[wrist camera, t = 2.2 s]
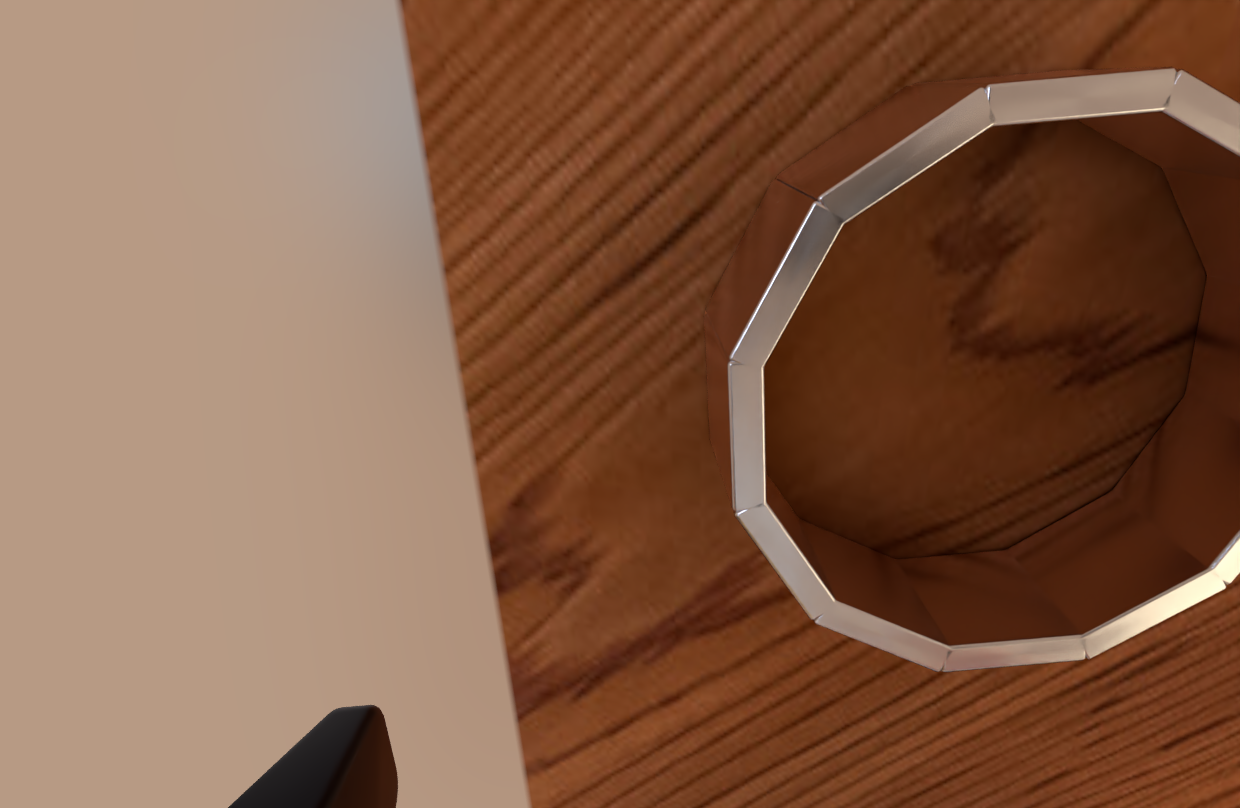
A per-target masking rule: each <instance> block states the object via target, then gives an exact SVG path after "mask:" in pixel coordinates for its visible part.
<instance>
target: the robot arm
mask: <svg viewBox="0 0 1240 808" xmlns="http://www.w3.org/2000/svg"><path fill="white" fill-rule="evenodd" d="M397 792H398V778H397V770H396V766H395V761H394V757H393V753H392V748H391V744H390V740H389V736H388V731H387V727H386V723H385V719H384V715H383V714H382V712H381V710H380V709H379V708H378V707H376V706H374V705H366V706H353V707H342V708H338V709H335V710H333V711H332V712H331V713H329V714H328V715H327V716H326V717H325V718H324V719H323V720H322V721H320V722H319V723H318V724H317V725H316V726H315V727H314V728H313V729H312V730H311V731H310V732H309V733H308V734H307V735H306V736H305V737H303V738H302V739H301V740H300V741H299V742H298V743H297V744H296V745H295V746H294V747H293V748H292V749H290V750H289V751H288V752H287V753H286V754H285V755H284V756H283V757H282V758H281V759H280V760H279V761H278V762H277V763H275V764H274V765H273V766H272V767H271V768H270V769H269V770H268V771H267V772H266V773H265V774H264V775H263V776H262V777H261V778H260V779H258V780H257V781H256V782H255V783H254V784H253V785H252V786H251V787H250V788H249V789H248V790H246V791H245V792H244V794H242V795H241V796H240V797H239V798H238V799H237V800H236V801H235V802H234V803H233V804H232V805H230V806H229V807H228V808H396V802H397Z"/></svg>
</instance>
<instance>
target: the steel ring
mask: <svg viewBox="0 0 1240 808" xmlns="http://www.w3.org/2000/svg"><path fill="white" fill-rule="evenodd" d="M1070 120H1078V121H1080V122H1082V123H1083V124H1085V125H1087V126H1089V127H1090V128H1092V129H1094V130H1096V131H1098V132H1099V133H1101V134H1103V135H1105V136H1106V137H1108V138H1110V139H1112V140H1114V141H1115V142H1117V143H1119V144H1121V145H1122V146H1124V147H1126V148H1128V149H1130V150H1131V151H1133V152H1135V153H1137V154H1138V155H1140V156H1142V157H1144V158H1146V159H1147V160H1149V161H1151V162H1153V163H1154V164H1156V165H1158V166H1160V167H1162V169H1163V171H1164V174H1165V176H1166V178H1167V181H1168V183H1169V185H1170V188H1171V190H1172V193H1173V195H1174V197H1175V200H1176V202H1177V204H1178V207H1179V209H1180V211H1181V214H1182V216H1183V219H1184V221H1185V223H1186V226H1187V228H1188V230H1189V233H1190V235H1191V238H1192V240H1193V242H1194V245H1195V247H1196V249H1197V252H1198V254H1199V256H1200V259H1201V261H1202V264H1203V266H1204V268H1205V271H1206V273H1207V279H1206V284H1205V290H1204V295H1203V301H1202V306H1201V311H1200V317H1199V322H1198V328H1197V333H1196V339H1195V344H1194V349H1193V355H1192V360H1191V366H1190V371H1189V377H1188V382H1187V387H1186V393H1185V396H1184V397H1183V398H1182V400H1181V401H1180V402H1179V404H1178V405H1177V406H1176V408H1175V409H1174V410H1173V411H1172V413H1171V414H1170V415H1169V417H1168V418H1167V419H1166V421H1165V422H1164V423H1163V425H1162V426H1161V427H1160V429H1159V430H1158V431H1157V432H1156V434H1155V435H1154V436H1153V438H1152V439H1151V440H1150V442H1149V443H1148V444H1147V446H1146V447H1145V448H1144V449H1143V451H1142V452H1141V453H1140V455H1139V456H1138V457H1137V459H1136V460H1135V461H1134V463H1133V464H1132V465H1131V467H1130V468H1129V469H1128V470H1127V472H1126V473H1125V474H1124V476H1123V477H1122V478H1121V480H1120V481H1119V482H1118V484H1117V485H1116V486H1115V488H1114V489H1113V490H1112V491H1111V492H1109V493H1107V494H1105V495H1104V496H1102V497H1100V498H1098V499H1096V500H1095V501H1093V502H1091V503H1089V504H1087V505H1086V506H1084V507H1082V508H1080V509H1078V510H1077V511H1075V512H1073V513H1071V514H1069V515H1068V516H1066V517H1064V518H1062V519H1060V520H1059V521H1057V522H1055V523H1053V524H1051V525H1050V526H1048V527H1046V528H1044V529H1042V530H1041V531H1039V532H1037V533H1035V534H1033V535H1032V536H1030V537H1028V538H1026V539H1024V540H1023V541H1021V542H1019V543H1017V544H1015V545H1014V546H1012V547H1010V548H1008V549H1006V550H1000V551H988V552H976V553H965V554H953V555H942V556H930V557H918V558H907V559H893V558H891V557H888V556H886V555H884V554H881V553H879V552H877V551H874V550H872V549H869V548H867V547H865V546H862V545H860V544H858V543H855V542H853V541H850V540H848V539H846V538H843V537H841V536H839V535H836V534H834V533H831V532H829V531H827V530H824V529H822V528H820V527H817V526H815V525H812V524H810V523H808V522H805V521H803V520H801V519H799V518H798V517H797V515H796V514H795V513H794V511H793V510H792V508H791V507H790V505H789V504H788V503H787V501H786V500H785V498H784V497H783V495H782V494H781V493H780V491H779V490H778V488H777V487H776V485H775V484H774V482H773V481H772V480H771V478H770V477H769V475H768V474H767V467H766V411H765V365H766V363H767V361H768V359H769V358H770V356H771V354H772V352H773V350H774V349H775V347H776V345H777V343H778V342H779V340H780V338H781V336H782V334H783V333H784V331H785V329H786V327H787V326H788V324H789V322H790V320H791V318H792V317H793V315H794V313H795V311H796V310H797V308H798V306H799V304H800V302H801V301H802V299H803V297H804V295H805V294H806V292H807V290H808V288H809V286H810V285H811V283H812V281H813V279H814V278H815V276H816V274H817V272H818V270H819V269H820V267H821V265H822V263H823V261H824V260H825V258H826V256H827V254H828V253H829V251H830V249H831V247H832V245H833V244H834V242H835V240H836V238H837V237H838V235H839V233H840V231H841V229H842V228H843V226H844V225H845V224H846V223H848V222H849V221H851V220H852V219H854V218H856V217H857V216H859V215H860V214H862V213H863V212H865V211H866V210H868V209H869V208H871V207H872V206H874V205H875V204H877V203H878V202H880V201H881V200H883V199H884V198H886V197H887V196H889V195H890V194H892V193H893V192H895V191H896V190H898V189H899V188H901V187H902V186H904V185H905V184H907V183H908V182H910V181H911V180H913V179H914V178H916V177H917V176H919V175H920V174H922V173H923V172H925V171H926V170H928V169H929V168H931V167H932V166H934V165H935V164H937V163H938V162H940V161H941V160H943V159H944V158H946V157H947V156H949V155H950V154H952V153H953V152H955V151H956V150H958V149H960V148H961V147H963V146H964V145H966V144H967V143H969V142H970V141H972V140H973V139H975V138H976V137H978V136H979V135H981V134H982V133H984V132H985V131H987V130H988V129H990V128H991V127H1001V126H1013V125H1024V124H1036V123H1047V122H1058V121H1070ZM776 178H777V179H774V180H773V181H772V182H771V184H770V186H769V188H768V190H767V191H766V193H765V195H764V197H763V199H762V201H761V203H760V205H759V207H758V209H757V211H756V213H755V214H754V216H753V218H752V220H751V222H750V224H749V226H748V228H747V230H746V232H745V234H744V236H743V237H742V239H741V241H740V243H739V245H738V247H737V249H736V251H735V253H734V255H733V257H732V259H731V260H730V262H729V264H728V266H727V268H726V270H725V272H724V274H723V276H722V278H721V280H720V282H719V283H718V285H717V287H716V289H715V291H714V293H713V295H712V297H711V299H710V301H709V303H708V305H707V306H706V309H705V311H706V314H705V315H704V327H705V349H706V371H707V393H708V415H709V437H710V442H711V445H712V448H713V451H714V454H715V457H716V460H717V464H718V467H719V470H720V473H721V476H722V479H723V482H724V485H725V488H726V491H727V494H728V498H729V501H730V504H731V507H732V509H733V512H734V515H735V517H736V519H737V520H738V521H739V523H740V524H741V525H742V527H743V528H744V529H745V531H746V532H747V534H748V535H749V536H750V538H751V539H752V540H753V542H754V543H755V545H756V546H757V547H758V549H759V550H760V551H761V553H762V554H763V555H764V557H765V558H766V560H767V561H768V562H769V564H770V565H771V566H772V568H773V569H774V570H775V572H776V573H777V575H778V576H779V577H780V579H781V580H782V581H783V583H784V584H785V585H786V587H787V588H788V590H789V591H790V592H791V594H792V595H793V596H794V598H795V599H796V601H797V602H798V603H799V605H800V606H801V607H802V609H803V610H804V611H805V613H806V614H807V616H808V617H809V618H810V619H812V620H814V622H815V623H816V624H817V625H820V626H822V627H825V628H828V629H830V630H833V631H835V632H838V633H840V634H843V635H845V636H848V637H850V638H853V639H855V640H858V641H860V642H863V643H865V644H868V645H871V646H873V647H876V648H878V649H881V650H883V651H886V652H888V653H891V654H893V655H896V656H898V657H901V658H903V659H906V660H908V661H911V662H914V663H916V664H919V665H921V666H924V667H926V668H929V669H931V670H934V671H936V672H939V671H940V670H941V671H942V672H953V671H964V670H976V669H988V668H1000V667H1011V666H1023V665H1035V664H1046V663H1058V662H1070V661H1081V660H1084V659H1085V658H1088V659H1091V658H1093V657H1095V656H1097V655H1099V654H1101V653H1103V652H1105V651H1107V650H1109V649H1110V648H1112V647H1114V646H1116V645H1118V644H1120V643H1122V642H1124V641H1126V640H1128V639H1130V638H1132V637H1134V636H1136V635H1138V634H1139V633H1141V632H1143V631H1145V630H1147V629H1149V628H1151V627H1153V626H1155V625H1157V624H1159V623H1161V622H1163V621H1165V620H1167V619H1168V618H1170V617H1172V616H1174V615H1176V614H1178V613H1180V612H1182V611H1184V610H1186V609H1188V608H1190V607H1192V606H1194V605H1196V604H1197V603H1199V602H1201V601H1203V600H1205V599H1207V598H1209V597H1211V596H1213V595H1215V594H1217V593H1219V592H1221V591H1223V590H1225V589H1226V588H1227V586H1226V584H1228V585H1229V584H1231V583H1232V582H1233V581H1234V580H1235V579H1236V577H1237V576H1238V575H1239V574H1240V103H1239V102H1238V101H1236V100H1234V99H1233V98H1231V97H1229V96H1227V95H1226V94H1224V93H1222V92H1221V91H1219V90H1217V89H1216V88H1214V87H1212V86H1211V85H1209V84H1207V83H1206V82H1204V81H1202V80H1201V79H1199V78H1197V77H1195V76H1194V75H1192V74H1190V73H1189V72H1187V71H1185V70H1184V69H1176V68H1173V67H1149V68H1117V69H1086V70H1060V71H1048V72H1037V73H1025V74H1014V75H1003V76H991V77H980V78H969V79H957V80H946V81H934V82H923V83H915V84H913V85H912V86H906V87H904V88H903V89H901V90H900V91H898V92H897V93H895V94H894V95H893V96H891V97H890V98H888V99H887V100H885V101H884V102H882V103H881V104H880V105H878V106H877V107H875V108H874V109H872V110H871V111H869V112H868V113H866V114H865V115H864V116H862V117H861V118H859V119H858V120H856V121H855V122H853V123H852V124H850V125H849V126H848V127H846V128H845V129H843V130H842V131H840V132H839V133H837V134H836V135H834V136H833V137H832V138H830V139H829V140H827V141H826V142H824V143H823V144H821V145H820V146H819V147H817V148H816V149H814V150H813V151H811V152H810V153H808V154H807V155H805V156H804V157H803V158H801V159H800V160H798V161H797V162H795V163H794V164H792V165H791V166H789V167H788V168H787V169H785V170H784V171H782V172H781V173H779V174H778V175H777V177H776Z"/></svg>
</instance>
